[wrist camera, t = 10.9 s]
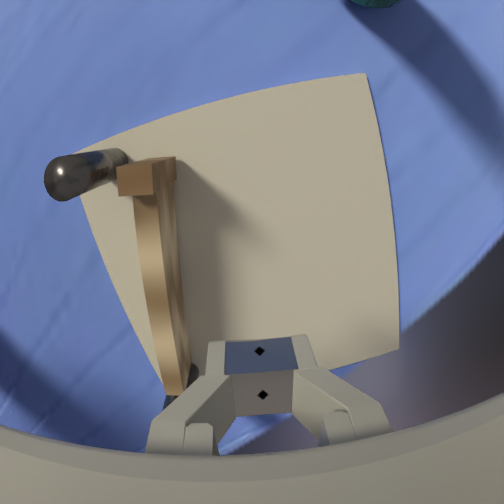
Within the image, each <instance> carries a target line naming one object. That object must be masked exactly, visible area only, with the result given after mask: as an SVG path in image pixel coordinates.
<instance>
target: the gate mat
mask: <svg viewBox="0 0 504 504" xmlns="http://www.w3.org/2000/svg"><path fill="white" fill-rule="evenodd" d="M109 148H118V149H121V150H122V151H124V152H125V154H126V155H127V157H128V162H129V163H133V162H136V161H140V160H144V159H148V158H158V157H173V156H176V174H177V179H176V180H174V181H173V183H174V200H175V214H176V228H177V240H178V251H179V262H180V272H181V281H182V290H183V299H184V308H185V316H186V324H187V331H188V339H189V346H190V353H191V360H192V361H191V363H193V364H195V365H196V366H197V367H198V369H199V376H198V378H199V377H200V376H205V374H206V363H207V353H208V344H209V342H210V341H221V340H225V341H226V340H246V339H267V338H279V337H290V336H294V335H302V334H306V335H307V336H308V339H309V342H310V345H311V348H312V351H313V354H314V357H315V360H316V363H317V366H318V367H324V368H325V369H327V370H331V369H335V368H339V367H342V366H346V365H349V364H353V363H356V362H360V361H363V360H366V359H370V358H373V357H376V356H379V355H382V354H386V353H388V352H392V351H395V350H398V349H399V294H398V273H397V258H396V245H395V234H394V224H393V215H392V207H391V199H390V192H389V185H388V178H387V171H386V165H385V159H384V154H383V148H382V143H381V138H380V133H379V128H378V123H377V118H376V114H375V109H374V105H373V101H372V97H371V93H370V89H369V85H368V81H367V77H366V73H360V74H351V75H343V76H336V77H329V78H322V79H315V80H309V81H304V82H298V83H293V84H287V85H282V86H277V87H272V88H268V89H263V90H259V91H254V92H250V93H246V94H242V95H238V96H234V97H230V98H226V99H222V100H219V101H215V102H211V103H208V104H204V105H201V106H198V107H194V108H191V109H188V110H185V111H181V112H178V113H175V114H172V115H169V116H166V117H163V118H160V119H157V120H154V121H152V122H149V123H146V124H143V125H141V126H138V127H135V128H133V129H130V130H127V131H125V132H122V133H120V134H117V135H115V136H112V137H110V138H107V139H105V140H103V141H100V142H98V143H96V144H93V145H91V146H89V147H86V148H84V149H82V150H80V151H78V152H75V153H73V154H77V153H83V152H89V151H96V150H102V149H109ZM71 155H72V154H71ZM80 197H81V200H82V203H83V206H84V209H85V212H86V215H87V218H88V221H89V224H90V226H91V229H92V232H93V235H94V237H95V240H96V243H97V245H98V248H99V250H100V253H101V256H102V258H103V261H104V263H105V266H106V268H107V270H108V273H109V275H110V278H111V280H112V282H113V285H114V287H115V289H116V292H117V294H118V296H119V298H120V301H121V303H122V305H123V307H124V309H125V311H126V314H127V316H128V318H129V320H130V322H131V324H132V326H133V328H134V330H135V332H136V334H137V336H138V338H139V340H140V342H141V344H142V346H143V348H144V350H145V352H146V354H147V356H148V358H149V360H150V362H151V364H152V365H153V367H154V369H155V371H156V373H157V375H158V376H159V378H160V380H161V382H162V384H163V381H162V377H161V373H160V369H159V364H158V360H157V355H156V351H155V346H154V341H153V336H152V331H151V326H150V321H149V315H148V310H147V304H146V298H145V292H144V286H143V280H142V273H141V267H140V260H139V252H138V245H137V236H136V228H135V219H134V209H133V198H132V196H121V197H119V196H118V185H117V180H115V181H112V182H110V183H107V184H105V185H102V186H100V187H98V188H95V189H93V190H90V191H88V192H86V193H83V194H81V195H80Z"/></svg>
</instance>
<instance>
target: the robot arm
mask: <svg viewBox="0 0 504 504" xmlns="http://www.w3.org/2000/svg"><path fill="white" fill-rule="evenodd" d="M291 412H292V415H293V416H294V417H295V418H296V419H297V420H298V421H300V423H301V424H302V425H304V426H305V427H306V428H307V429H308V430H309V431H310V432H311V433H312V434H313V435H314V436H315V437H316V438H317V439H318V440H319V442H318V447H316V448H309V449H301V450H294V451H285V452H274V453H263V454H247V455H219V451H218V446H217V444H218V443H219V442H220V440H221V439H222V437H223V436H224V435H225V433H226V432H227V430H228V429H229V427H230V426H231V425H232V423H233V422H234V420H235V419H236V417H240V416H252V415H262V414H278V413H291ZM0 504H504V392H503V393H501V394H499V395H496V396H494V397H492V398H490V399H487V400H485V401H483V402H480V403H478V404H475V405H473V406H470V407H468V408H465V409H463V410H460V411H457V412H455V413H452V414H449V415H446V416H443V417H440V418H438V419H435V420H432V421H428V422H425V423H422V424H419V425H415V426H412V427H409V428H405V429H401V430H398V431H394V432H393V430H392V428H391V426H390V424H389V422H388V419H387V417H386V415H385V413H384V411H383V408H382V406H381V404H380V402H378V401H376V400H375V399H373V398H371V397H370V396H368V395H366V394H365V393H363V392H362V391H360V390H358V389H357V388H355V387H353V386H352V385H350V384H349V383H347V382H346V381H344V380H342V379H341V378H339V377H338V376H336V375H335V374H333V373H332V372H330V371H328V370H327V369H325V368H324V367H318V366H317V363H316V360H315V357H314V354H313V351H312V348H311V345H310V342H309V339H308V336H307V335H306V334H302V335H294V336H290V337H279V338H267V339H246V340H226V341H225V340H221V341H210V342H209V344H208V353H207V363H206V374H205V376H200V377H199V378H198V379H197V380H196V381H195V382H194V383H192V384H191V385H190V386H189V387H188V388H187V389H186V390H185V391H184V392H183V393H182V394H181V395H180V396H178V397H177V398H176V399H175V400H174V401H173V402H172V403H171V404H170V405H169V406H167V407H166V408H165V409H164V410H163V411H162V412H161V413H160V414H159V415H158V416H156V417H155V418H154V419H153V420H152V422H151V426H150V431H149V435H148V440H147V444H146V449H145V453H139V452H129V451H120V450H112V449H105V448H98V447H92V446H86V445H80V444H75V443H70V442H65V441H60V440H56V439H51V438H47V437H43V436H39V435H35V434H31V433H27V432H24V431H20V430H17V429H13V428H10V427H7V426H4V425H0Z"/></svg>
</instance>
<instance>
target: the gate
mask: <svg viewBox="0 0 504 504" xmlns="http://www.w3.org/2000/svg"><path fill="white" fill-rule="evenodd" d="M116 172H117V185H118V196H119V197H121V196H132V198H133V209H134V219H135V228H136V236H137V245H138V252H139V260H140V267H141V273H142V280H143V286H144V292H145V298H146V304H147V310H148V315H149V321H150V326H151V331H152V336H153V341H154V346H155V351H156V355H157V360H158V364H159V369H160V373H161V377H162V381H163V385H164V389H165V393H166V395H177V396H180V395H181V394H182V393H183V392H184V391H185V390H186V385H187V381H188V376H189V371H190V366H191V361H192V360H191V353H190V346H189V339H188V331H187V324H186V316H185V308H184V299H183V290H182V281H181V272H180V262H179V251H178V240H177V228H176V214H175V200H174V183H173V181H174V180H176V179H177V174H176V156H173V157H158V158H148V159H144V160H140V161H136V162H133V163H129V164H125V165H122V166H118V167H116Z"/></svg>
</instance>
